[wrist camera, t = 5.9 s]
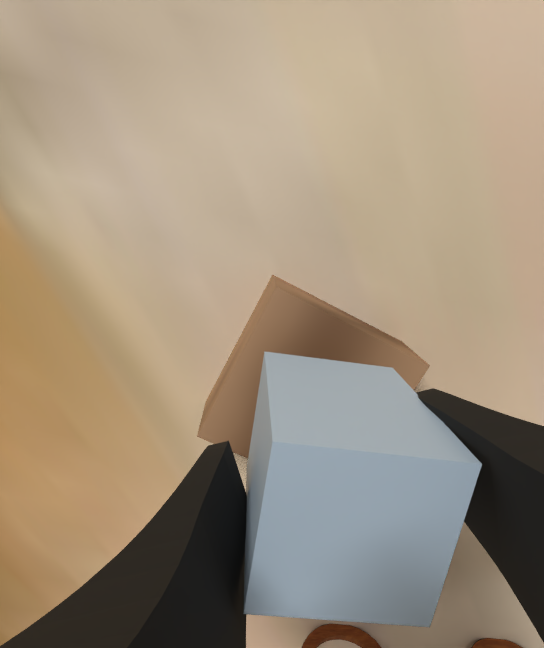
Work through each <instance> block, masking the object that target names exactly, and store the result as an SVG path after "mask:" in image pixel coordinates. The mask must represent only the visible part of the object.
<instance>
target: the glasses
mask: <svg viewBox="0 0 544 648" xmlns="http://www.w3.org/2000/svg"><path fill="white" fill-rule="evenodd" d="M336 639H341V640H346V641H350V642H352V643H355V644H357V645H358V646H360V647H362V648H381V647H380V645H379V644H378V643H377V641H376V640H374V639H373V638H372V637H371V636H370V635H369V634H367V633H366V632H364V631H362V630H360V629H359V628H356V627H353V626H350V625H339V624H327V625H323V626H321V627H319V628H317V629H315V630H314V631H313V632H312V633H310V634H309V635H308V637H307V639H306V640H305V642H304V644H303V646H302V648H317V647H318V646H319V645H320V644H322V643H324V642H326V641H329V640H336ZM472 648H522V647H520V646H519V645H517V644H515V643H513V642H510V641H507V640H502V639H491V638H485V639H482V640H479V641H478V642H476V643H475V644H474V645H473V647H472Z"/></svg>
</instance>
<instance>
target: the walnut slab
mask: <svg viewBox="0 0 544 648" xmlns="http://www.w3.org/2000/svg"><path fill="white" fill-rule="evenodd" d="M264 351H265V352H273V353H281V354H288V355H296V356H304V357H312V358H320V359H328V360H336V361H343V362H351V363H359V364H367V365H375V366H383V367H391V368H393V369H394V370H395V371H396V372H397V373H398V374H399V375H400V376H401V377H402V378H403V379H404V380H405V382H406V383H407V384H408V385H409V386H410V387H411V388H412V389H413V390H414V389H415V388H416V386H417V385H418V383H419V382H420V380H421V379H422V377H423V375H424V374H425V372H426V371H427V369H428V368H429V366H430V365H429V364H427V363H426V362H425V361H424V360H423V359H422V358H420V357H419V356H418V355H417V354H416V353H415V352H413V351H412V350H411V349H410V348H409V347H408V346H406V345H405V344H404V343H403V342H402V341H400V340H398V339H396V338H394V337H392V336H390V335H388V334H386V333H384V332H382V331H380V330H378V329H376V328H375V327H373V326H371V325H369V324H367V323H365V322H363V321H361V320H359V319H357V318H355V317H353V316H351V315H349V314H347V313H346V312H344V311H342V310H340V309H338V308H336V307H334V306H332V305H330V304H328V303H326V302H324V301H322V300H320V299H318V298H317V297H315V296H313V295H311V294H309V293H307V292H305V291H303V290H301V289H299V288H297V287H295V286H293V285H291V284H289V283H288V282H286V281H284V280H282V279H280V278H278V277H276V276H274V275H272V277H271V279H270V281H269V282H268V284H267V286H266V288H265V290H264V292H263V294H262V296H261V298H260V300H259V302H258V303H257V305H256V307H255V309H254V311H253V313H252V315H251V317H250V319H249V321H248V323H247V324H246V326H245V328H244V330H243V332H242V334H241V336H240V338H239V340H238V342H237V344H236V345H235V347H234V349H233V351H232V353H231V355H230V357H229V359H228V361H227V363H226V365H225V366H224V368H223V370H222V372H221V374H220V376H219V378H218V380H217V382H216V384H215V385H214V387H213V389H212V391H211V393H210V395H209V397H208V399H207V401H206V403H205V407H204V411H203V415H202V419H201V423H200V427H199V431H198V435H197V437H200V438H202V439H204V440H206V441H209V442H211V443H213V444H217V443H221V442H225V441H229V443H230V446H231V449H232V452H234V453H237V454H239V455H241V456H244V457H246V458H248V456H249V449H250V443H251V436H252V430H253V423H254V417H255V410H256V403H257V397H258V390H259V384H260V377H261V371H262V364H263V358H264Z"/></svg>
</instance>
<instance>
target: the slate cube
mask: <svg viewBox="0 0 544 648" xmlns="http://www.w3.org/2000/svg"><path fill="white" fill-rule="evenodd" d="M481 466H482V464H481V462H480V461H479V460H478V459H477V458H476V457H475V456H474V455H473V454H472V453H471V452H470V451H469V450H468V448H467V447H466V446H465V445H464V444H463V443H462V442H461V441H460V440H459V439H458V438H457V437H456V435H455V434H454V433H453V432H452V431H451V430H450V429H449V428H448V427H447V426H446V425H445V424H444V423H443V422H442V421H441V420H440V419H439V418H438V417H437V416H436V415H435V414H434V413H433V412H432V411H430V410H429V409H428V408H427V407H426V406H425V405H424V404H423V403H422V401H421V400H420V399H419V398H418V394H417V393H416V392H415V391H414V390H413V389H412V388H411V387H410V386H409V385H408V384H407V383H406V382H405V380H404V379H403V378H402V377H401V376H400V375H399V374H398V373H397V372H396V371H395V370H394V369H393V368H391V367H383V366H375V365H367V364H359V363H351V362H343V361H336V360H328V359H320V358H312V357H304V356H296V355H288V354H281V353H273V352H265V351H264V358H263V364H262V371H261V377H260V384H259V390H258V397H257V403H256V410H255V417H254V423H253V430H252V436H251V443H250V449H249V456H248V462H247V479H246V495H247V512H246V539H245V570H244V614H251V615H265V616H279V617H293V618H307V619H321V620H335V621H349V622H363V623H377V624H391V625H405V626H419V627H430V625H431V622H432V619H433V616H434V613H435V610H436V606H437V603H438V600H439V597H440V594H441V591H442V588H443V585H444V582H445V578H446V575H447V572H448V569H449V566H450V563H451V560H452V557H453V553H454V550H455V547H456V544H457V541H458V538H459V535H460V532H461V528H462V525H463V522H464V519H465V516H466V513H467V510H468V507H469V503H470V500H471V497H472V494H473V491H474V488H475V485H476V482H477V478H478V475H479V472H480V469H481Z"/></svg>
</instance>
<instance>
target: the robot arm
mask: <svg viewBox="0 0 544 648" xmlns="http://www.w3.org/2000/svg"><path fill="white" fill-rule="evenodd" d="M417 394H418V398H419V399H420V400H421V401H422V403H423V404H424V405H425V406H426V407H427V408H428V409H429V410H430V411H432V412H433V413H434V414H435V415H436V416H437V417H438V418H439V419H440V420H441V421H442V422H443V423H444V424H445V425H446V426H447V427H448V428H449V429H450V430H451V431H452V432H453V433H454V434H455V435H456V437H457V438H458V439H459V440H460V441H461V442H462V443H463V444H464V445H465V446H466V447H467V448H468V450H469V451H470V452H471V453H472V454H473V455H474V456H475V457H476V458H477V459H478V460H479V461H480V462H481V464H482V466H481V469H480V472H479V475H478V478H477V482H476V485H475V488H474V491H473V494H472V497H471V500H470V503H469V507H468V510H467V513H466V516H465V519H464V522H465V523H466V524H467V526H468V527H469V528H470V530H471V531H472V533H473V534H474V535H475V537H476V538H477V539H478V541H479V542H480V543H481V545H482V546H483V547H484V549H485V550H486V551H487V553H488V554H489V555H490V557H491V558H492V560H493V561H494V562H495V564H496V565H497V567H498V568H499V570H500V571H501V573H502V574H503V576H504V577H505V579H506V580H507V582H508V584H509V585H510V587H511V589H512V590H513V592H514V594H515V595H516V597H517V599H518V600H519V602H520V603H521V605H522V607H523V608H524V610H525V612H526V613H527V615H528V617H529V618H530V620H531V622H532V623H533V625H534V627H535V628H536V630H537V632H538V634H539V635H540V637H541V639H542V640H543V642H544V426H541V425H537V424H534V423H531V422H527V421H524V420H521V419H518V418H514V417H511V416H508V415H505V414H502V413H499V412H496V411H494V410H491V409H488V408H485V407H483V406H480V405H477V404H474V403H472V402H469V401H466V400H464V399H461V398H459V397H456V396H453V395H451V394H448V393H445V392H442V391H439V390H436V389H429V390H425V391H421V392H417ZM246 512H247V495H246V492H245V489H244V486H243V483H242V480H241V477H240V473H239V470H238V467H237V464H236V461H235V458H234V455H233V452H232V449H231V446H230V443H229V441H225V442H221V443H217V444H213V445H209V446H208V447H207V448H206V449H205V450H204V452H203V453H202V454H201V456H200V457H199V459H198V460H197V461H196V463H195V464H194V466H193V467H192V468H191V470H190V471H189V473H188V474H187V475H186V477H185V478H184V479H183V481H182V482H181V483H180V485H179V486H178V487H177V489H176V490H175V491H174V493H173V494H172V495H171V496H170V498H169V499H168V500H167V501H166V502H165V504H164V505H163V506H162V507H161V509H160V510H159V511H158V512H157V513H156V515H155V516H154V517H153V518H152V519H151V521H150V522H149V523H148V524H147V525H146V526H145V527H144V528H143V529H142V531H141V532H140V533H139V534H138V535H137V536H136V537H135V538H134V539H133V540H132V541H131V542H130V543H129V544H128V545H127V546H126V547H125V548H124V549H123V550H122V551H121V552H120V553H119V554H118V555H117V556H116V557H114V558H113V559H112V560H111V561H110V562H109V563H108V564H107V565H105V566H104V567H103V568H102V569H101V570H100V571H99V572H98V573H97V574H95V575H94V576H93V577H92V578H91V579H90V580H89V581H88V582H86V583H85V584H84V585H83V586H82V587H80V588H79V589H78V590H77V591H75V592H74V593H73V594H72V595H70V596H69V597H68V598H67V599H65V600H64V601H63V602H62V603H60V604H59V605H58V606H56V607H55V608H54V609H52V610H51V611H50V612H48V613H47V614H46V615H44V616H43V617H42V618H40V619H39V620H38V621H36V622H35V623H34V624H32V625H31V626H29V627H28V628H27V629H25V630H24V631H22V632H21V633H19V634H18V635H16V636H15V637H13V638H12V639H10V640H9V641H7V642H6V643H4V644H3V645H1V646H0V648H246V614H244V570H245V539H246Z"/></svg>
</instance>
